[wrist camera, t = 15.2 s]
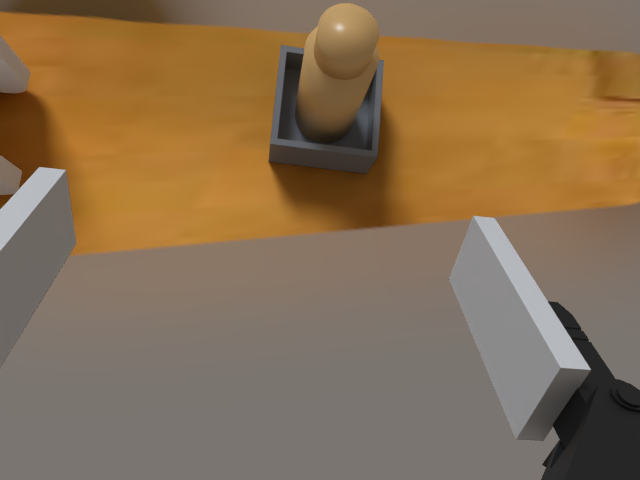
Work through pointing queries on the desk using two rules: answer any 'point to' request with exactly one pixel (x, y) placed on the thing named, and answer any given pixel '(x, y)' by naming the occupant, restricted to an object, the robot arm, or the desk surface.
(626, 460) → the robot arm
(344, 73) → the beige rounded figurine
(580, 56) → the desk surface
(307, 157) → the grey open square box
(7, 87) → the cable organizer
